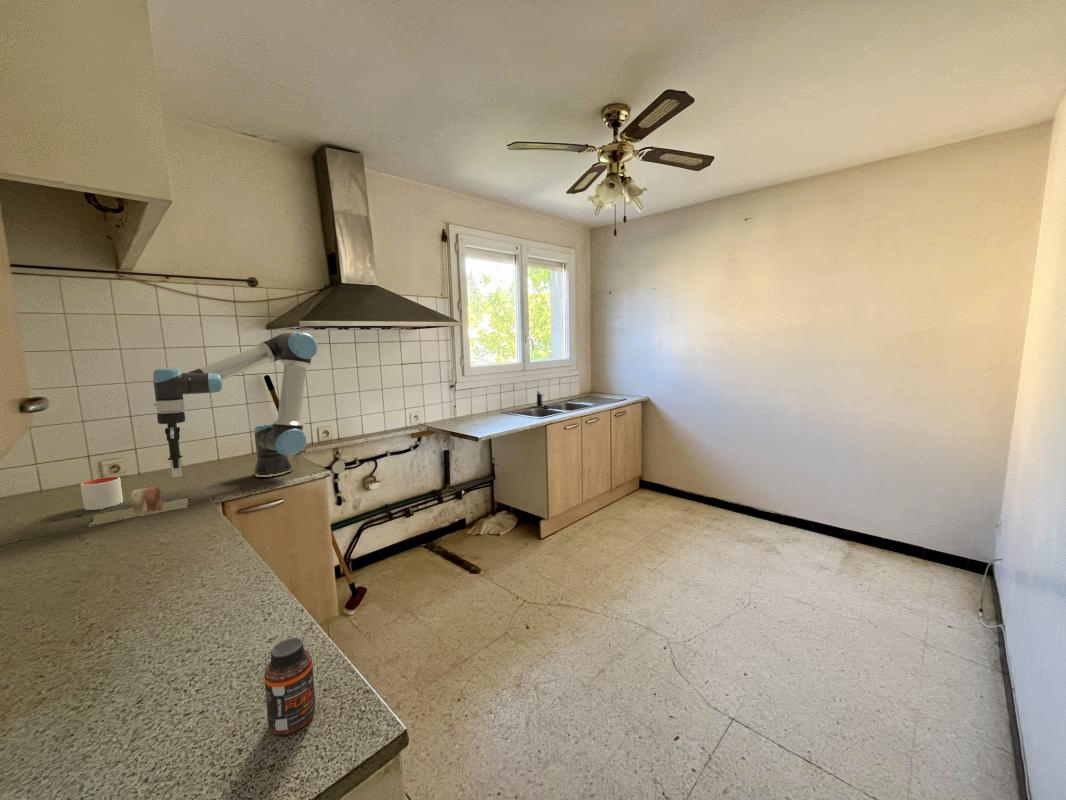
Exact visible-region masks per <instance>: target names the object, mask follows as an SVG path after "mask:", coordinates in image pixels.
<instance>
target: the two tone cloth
mask: <svg viewBox="0 0 1066 800" xmlns="http://www.w3.org/2000/svg"><path fill="white" fill-rule="evenodd" d="M161 492H162V491H161V485H158V486H157V485H156V486H150V487H146V488H145V487H144V488H138V489H133V491H132V493H131V495H130V496H131V503H132V507H133V512H134V514H139V513H145V512H150V511H155V510H161V508H162V502H163V500H162V493H161Z"/></svg>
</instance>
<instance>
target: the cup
mask: <svg viewBox="0 0 1066 800" xmlns="http://www.w3.org/2000/svg"><path fill="white" fill-rule="evenodd" d="M80 489H81V497H82V503H83V508H84V510H86V511H87V510H97V509H103V508H107V507H111V506H115V505H118V504H120V503H121V504H123V503H124V497H123V489H122V481H121V477H120V476H107V477H99V478H94V479H89V480H86V481H83V482H81V483H80ZM121 504H120V505H121ZM118 506H119V505H118ZM115 507H116V506H115ZM103 510H104V509H103Z"/></svg>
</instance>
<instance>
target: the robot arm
mask: <svg viewBox="0 0 1066 800" xmlns="http://www.w3.org/2000/svg"><path fill="white" fill-rule="evenodd" d="M317 352H318V343H317V340H316V339H315V338H314V336H312V335H311V334H309V333H308V332H304V331H295V332H285V333H280V334H278V335H275V336H274V337H271V338H269V339H267V340H264V341H261V342H259V344H258V346H256V347H253V348H251V349H247V350H245V351H242V352H240V353H236V354H234V355H231V356H229V357H226V358H223V359H220V360H217V361H215V362H213V363H212V362H211V363H210V364H206V365H205V366H202V367H201V366H200V367H198V368H196V369H194V370H190V371H188V372H182V371H181V370H180V368H157V369H155V370H153V372H152V373H153V375H152V376H153V377H152V379H153V381H152V383H153V389H154V396H155V403H153V406H154V407H156V408H155V409H156V412H157V414H156V418H157V420H156V421H157V424H159V425H166V426H167V427H165V429H164V433H165V435H166V442H168V449H169V457H168V458H167V461H170V469H171V470H170V471H171V478H178V477H183V472H182V471H183V470H182V463H181V461H182V460H181V458H183V455H181V452H180V442H179V440H180V439H181V436H180V431H181V427H180V426H177V424H179V423H184V422H185V421H186V412H184V411H185V402H184V395H194V394H195V395H199V394H200V395H201V394H212V393H219V392H221V391H222V389H223V380H226V379H229V378H230V377H233V376H236V375H239V374H240V373H244V372H246V371H248V370H251V369H253V368H255V367H258V366H261V365H263V364H267V363H270V364H271V363H274V362H277V361H280V362H281V363H282V364H283V372H282V378H281V379H282V380H281V389H280V397H279V403H278V404H279V405H278V412H277V419H276V420H275V421H273V422H272V423H269V424H263V425H257V426H255V427H254V433H253V435H254V441H255V452H256V462H255V465H254V469H253V475H254V474H258V475H269V474H277V473H281V472H285V471H288V470H290V469H293V465H292V463H291V461H290V459H289V457H288V456H293V455H295V456H296V455H297V454H299V453H300V452H301V451H302V450H304V449H305V446H306V444H307V435H306V434H305V432H304V424H303V423H302V422H301V413H302V407H303V406H302V405H303V398H304V389H305V380H306V375H307V374H306V372H307V368H309V366H311V363H312V358H313V357H314V356H316V354H317Z"/></svg>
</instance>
